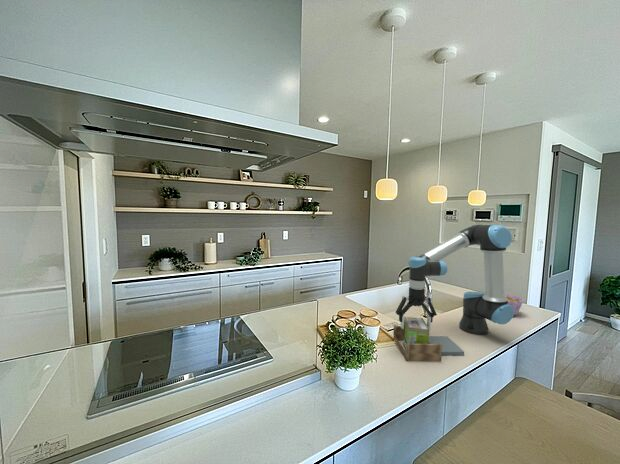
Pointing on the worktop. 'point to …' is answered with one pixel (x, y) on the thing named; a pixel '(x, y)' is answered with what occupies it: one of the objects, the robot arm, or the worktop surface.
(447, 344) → the slate board
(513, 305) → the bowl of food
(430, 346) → the walnut caddy
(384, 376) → the worktop surface
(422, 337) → the tea box
